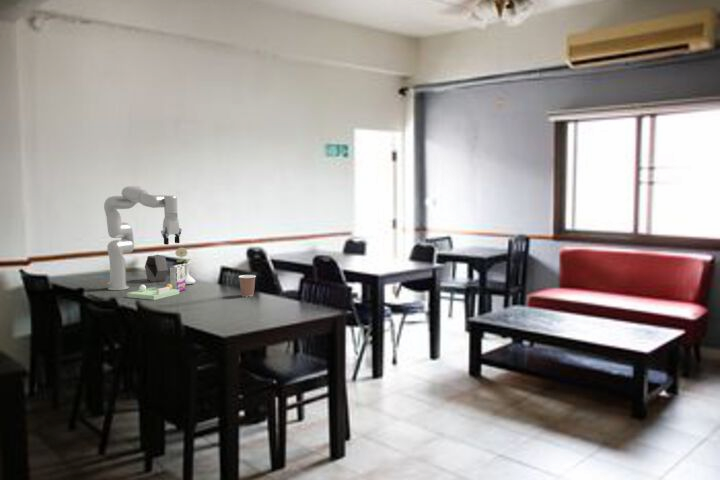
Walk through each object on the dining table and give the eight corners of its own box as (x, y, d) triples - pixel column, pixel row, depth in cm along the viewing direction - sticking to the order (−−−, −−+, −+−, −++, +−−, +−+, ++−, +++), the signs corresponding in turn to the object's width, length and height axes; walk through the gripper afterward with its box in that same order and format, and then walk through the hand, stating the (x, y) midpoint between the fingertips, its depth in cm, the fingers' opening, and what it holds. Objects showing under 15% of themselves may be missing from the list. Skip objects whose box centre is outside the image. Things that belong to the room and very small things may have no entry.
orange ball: (164, 290, 377) (164, 284, 377) (168, 289, 381) (168, 283, 380) (169, 291, 375) (169, 284, 375) (174, 290, 379) (173, 283, 379)
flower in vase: (197, 282, 423) (196, 246, 421) (193, 285, 412) (192, 248, 410) (178, 282, 423) (177, 246, 421) (173, 285, 412) (172, 248, 409)
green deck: (126, 297, 369) (126, 288, 369) (153, 291, 389) (152, 282, 389) (154, 299, 361) (153, 290, 360) (179, 293, 381) (179, 284, 380)
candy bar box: (178, 289, 396) (178, 264, 394) (185, 289, 395) (185, 264, 393) (170, 292, 385) (169, 266, 384) (177, 292, 384) (176, 266, 383)
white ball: (137, 291, 375) (137, 284, 374) (142, 290, 378) (142, 283, 378) (142, 291, 373) (142, 285, 373) (147, 290, 377) (147, 284, 376)
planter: (142, 272, 437) (149, 249, 428) (153, 271, 443) (159, 249, 433) (152, 288, 428) (159, 265, 419) (162, 286, 434) (170, 263, 424)
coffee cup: (259, 295, 377) (259, 275, 376) (248, 297, 368) (248, 277, 367) (246, 293, 382) (245, 274, 380) (235, 296, 373) (234, 276, 371)
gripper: (175, 215, 385) (176, 242, 387) (156, 216, 369) (157, 244, 371) (185, 215, 382) (186, 242, 384) (166, 216, 366) (166, 245, 368)
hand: (171, 243), depth 377 cm, fingers open, 9 cm apart
